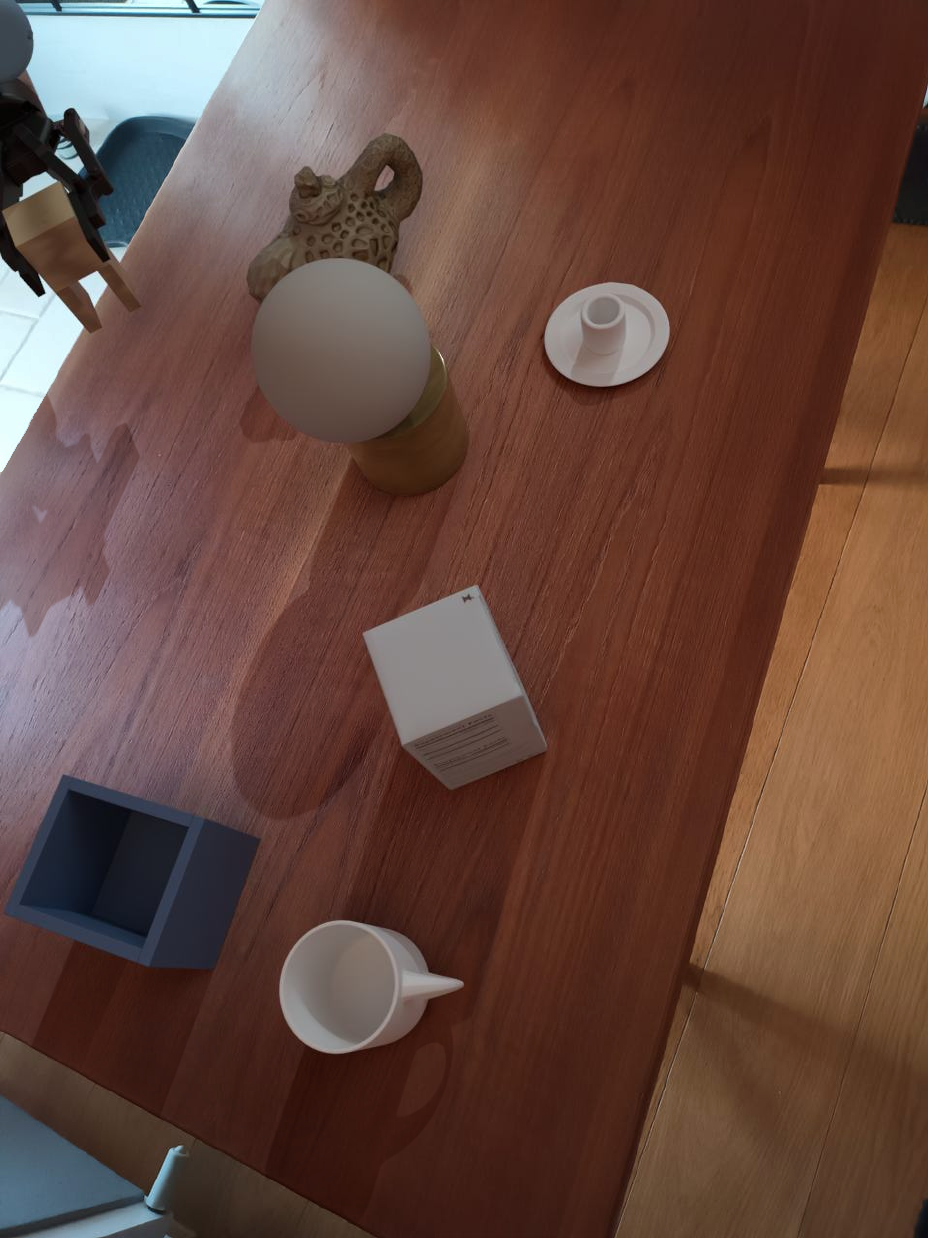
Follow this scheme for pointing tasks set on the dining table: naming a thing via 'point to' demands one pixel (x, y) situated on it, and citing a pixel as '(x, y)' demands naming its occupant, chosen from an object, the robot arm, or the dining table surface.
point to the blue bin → (133, 877)
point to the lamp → (360, 373)
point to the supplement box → (454, 690)
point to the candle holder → (607, 334)
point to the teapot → (343, 215)
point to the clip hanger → (65, 252)
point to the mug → (356, 987)
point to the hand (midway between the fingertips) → (65, 267)
